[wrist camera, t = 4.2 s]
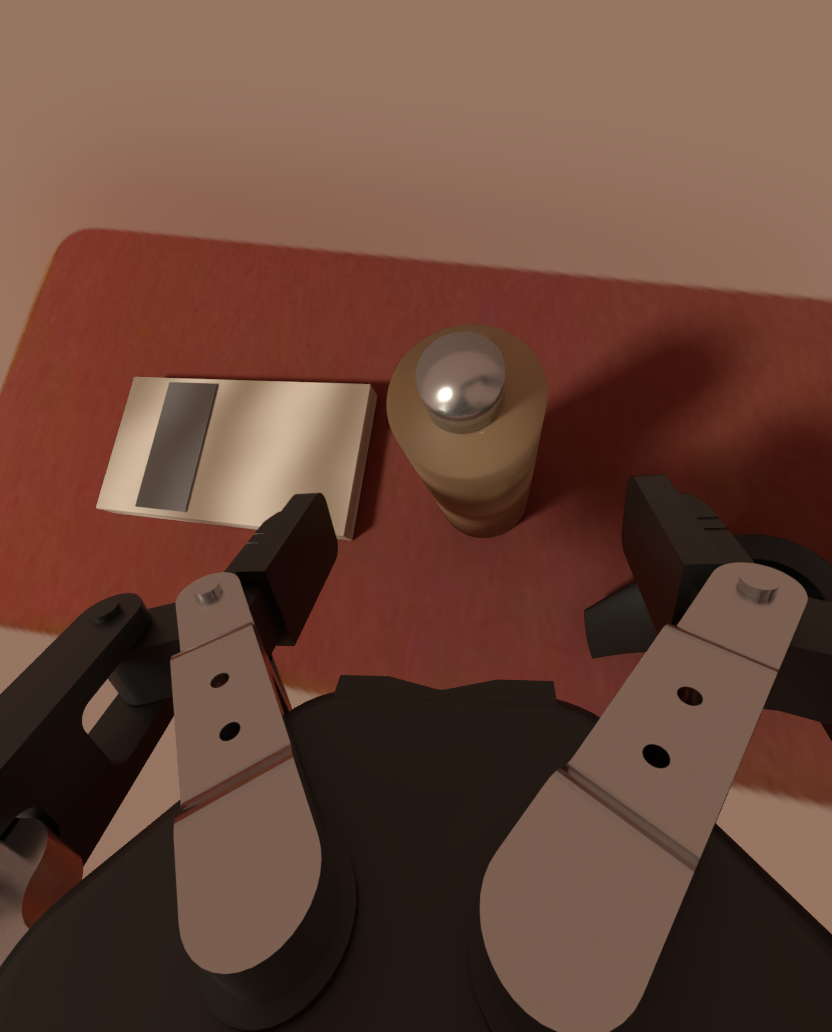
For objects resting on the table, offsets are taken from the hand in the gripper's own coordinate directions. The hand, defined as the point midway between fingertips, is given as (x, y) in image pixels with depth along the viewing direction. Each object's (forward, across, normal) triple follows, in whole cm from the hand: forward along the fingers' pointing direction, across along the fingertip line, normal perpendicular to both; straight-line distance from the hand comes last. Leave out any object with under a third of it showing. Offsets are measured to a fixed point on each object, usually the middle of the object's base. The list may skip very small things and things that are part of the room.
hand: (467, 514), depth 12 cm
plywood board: (+10, +13, +2) cm, 16 cm away
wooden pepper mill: (+8, 0, +4) cm, 9 cm away
